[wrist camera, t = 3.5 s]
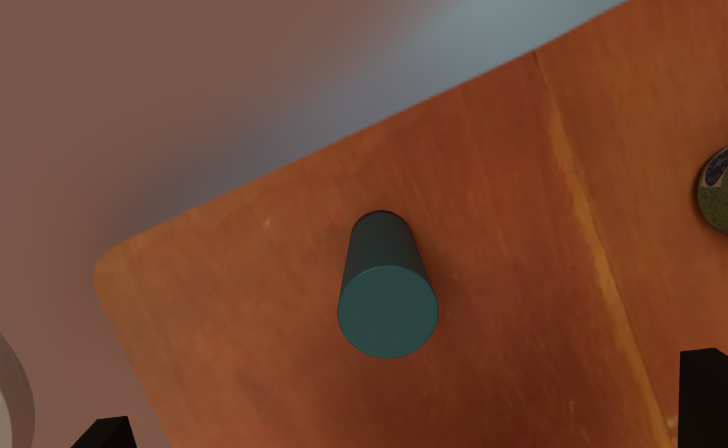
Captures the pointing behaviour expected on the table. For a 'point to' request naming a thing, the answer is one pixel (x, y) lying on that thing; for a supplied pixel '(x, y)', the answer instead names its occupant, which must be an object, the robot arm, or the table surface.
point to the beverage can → (715, 191)
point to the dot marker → (385, 289)
